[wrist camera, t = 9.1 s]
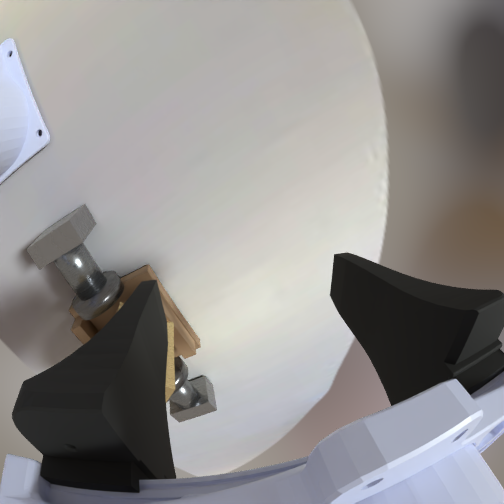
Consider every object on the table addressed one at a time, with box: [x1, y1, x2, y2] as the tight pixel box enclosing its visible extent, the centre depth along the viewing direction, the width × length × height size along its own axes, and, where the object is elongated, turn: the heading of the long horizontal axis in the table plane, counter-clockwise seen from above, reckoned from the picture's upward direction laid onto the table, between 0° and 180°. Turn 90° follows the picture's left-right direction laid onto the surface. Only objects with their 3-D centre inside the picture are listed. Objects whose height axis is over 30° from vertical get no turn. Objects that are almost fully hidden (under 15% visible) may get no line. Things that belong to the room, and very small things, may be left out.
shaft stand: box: [26, 204, 217, 422], centre depth 21 cm, size 20×8×4 cm, turn 22°
